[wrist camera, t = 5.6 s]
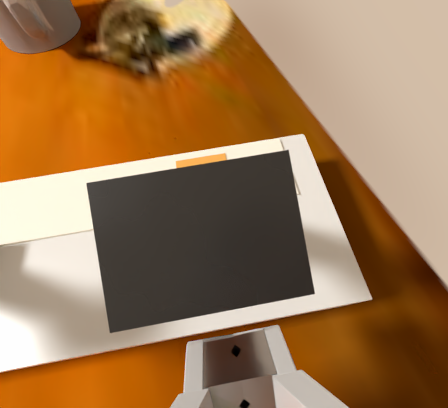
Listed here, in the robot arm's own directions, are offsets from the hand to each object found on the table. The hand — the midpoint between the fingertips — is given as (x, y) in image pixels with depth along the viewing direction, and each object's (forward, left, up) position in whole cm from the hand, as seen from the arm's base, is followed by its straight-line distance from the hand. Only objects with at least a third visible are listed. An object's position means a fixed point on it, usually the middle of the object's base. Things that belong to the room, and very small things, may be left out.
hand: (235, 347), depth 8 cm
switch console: (+7, +7, -9) cm, 14 cm away
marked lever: (+7, 0, -5) cm, 8 cm away
